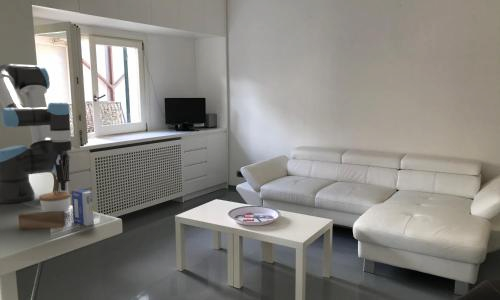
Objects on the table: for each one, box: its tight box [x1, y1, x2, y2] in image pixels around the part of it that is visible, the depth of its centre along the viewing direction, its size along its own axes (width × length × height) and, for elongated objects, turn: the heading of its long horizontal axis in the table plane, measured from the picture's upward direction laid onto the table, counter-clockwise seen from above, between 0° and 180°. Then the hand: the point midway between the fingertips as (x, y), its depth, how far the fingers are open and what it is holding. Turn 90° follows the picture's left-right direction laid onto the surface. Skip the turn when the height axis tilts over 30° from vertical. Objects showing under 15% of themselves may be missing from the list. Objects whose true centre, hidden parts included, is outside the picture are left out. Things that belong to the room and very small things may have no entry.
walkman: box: [71, 188, 95, 227], centre depth 143 cm, size 8×3×12 cm, turn 59°
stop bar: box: [17, 211, 66, 231], centre depth 139 cm, size 3×14×5 cm, turn 99°
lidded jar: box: [39, 190, 72, 214], centre depth 154 cm, size 11×11×9 cm
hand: (64, 197), depth 166 cm, fingers closed
